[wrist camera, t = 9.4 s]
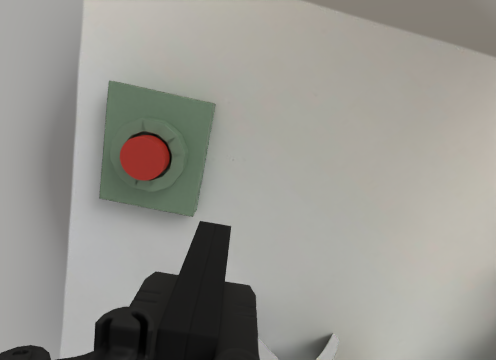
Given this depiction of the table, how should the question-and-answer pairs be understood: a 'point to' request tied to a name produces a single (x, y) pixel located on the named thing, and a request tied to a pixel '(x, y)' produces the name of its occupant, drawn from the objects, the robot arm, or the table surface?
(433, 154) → the table surface
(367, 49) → the table surface
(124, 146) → the button
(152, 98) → the button box
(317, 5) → the table surface
